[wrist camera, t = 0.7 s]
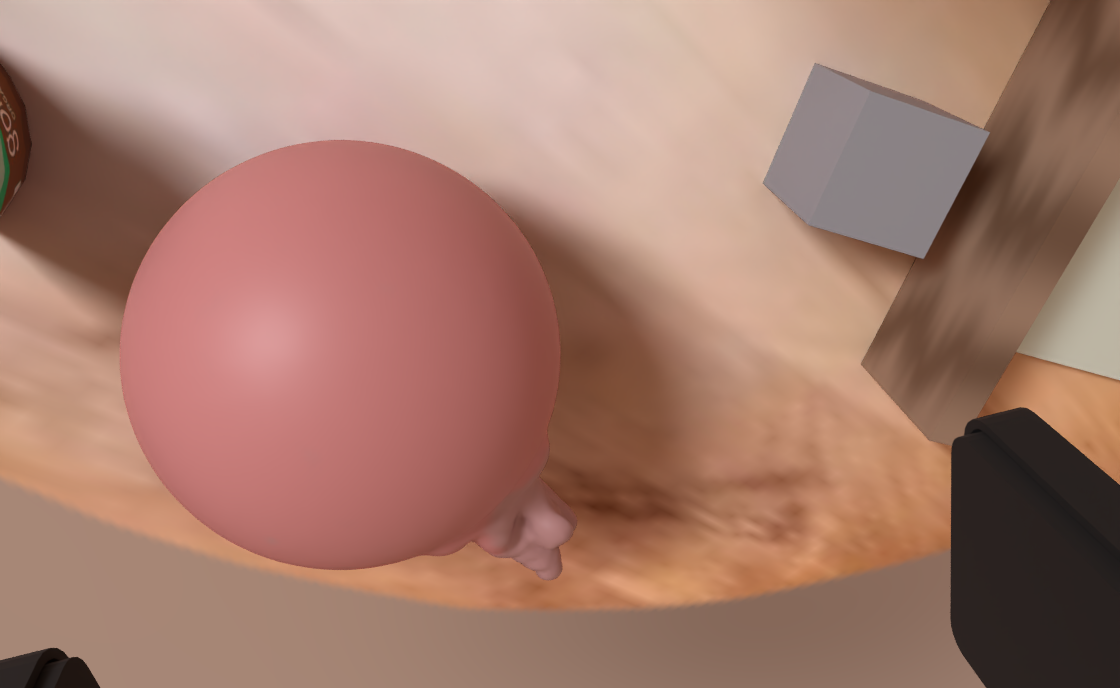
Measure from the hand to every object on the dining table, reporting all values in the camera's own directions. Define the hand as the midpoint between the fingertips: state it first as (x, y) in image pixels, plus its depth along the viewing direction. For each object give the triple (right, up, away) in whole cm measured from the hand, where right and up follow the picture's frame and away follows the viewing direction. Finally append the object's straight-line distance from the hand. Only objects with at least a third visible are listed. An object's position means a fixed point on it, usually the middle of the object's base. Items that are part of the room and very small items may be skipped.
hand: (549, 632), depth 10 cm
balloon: (-7, +5, +32) cm, 33 cm away
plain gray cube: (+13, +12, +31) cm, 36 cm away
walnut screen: (+19, +10, +33) cm, 40 cm away
